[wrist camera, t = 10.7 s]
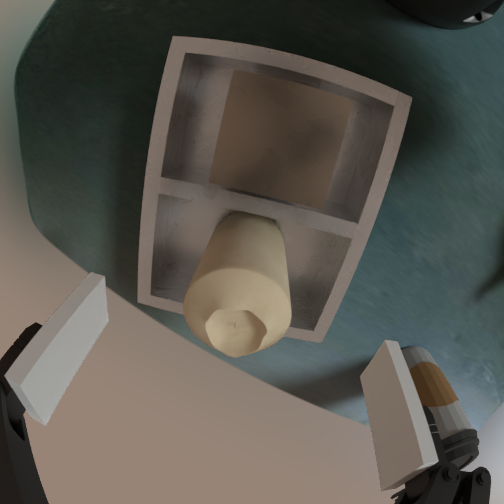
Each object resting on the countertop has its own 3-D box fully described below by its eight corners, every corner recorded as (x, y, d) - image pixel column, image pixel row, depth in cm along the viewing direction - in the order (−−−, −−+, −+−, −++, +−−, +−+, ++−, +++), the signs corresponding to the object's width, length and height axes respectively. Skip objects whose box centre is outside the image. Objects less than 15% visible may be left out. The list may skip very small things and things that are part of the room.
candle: (201, 220, 21) (156, 297, 12) (274, 201, 21) (278, 272, 12) (224, 282, 24) (201, 378, 15) (291, 268, 23) (302, 364, 14)
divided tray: (197, 40, 16) (177, 21, 12) (385, 88, 17) (415, 83, 13) (157, 279, 25) (137, 312, 21) (310, 313, 26) (316, 351, 21)
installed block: (247, 89, 17) (233, 69, 10) (320, 107, 17) (353, 100, 10) (231, 158, 19) (208, 183, 12) (301, 175, 20) (321, 210, 12)
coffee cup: (363, 389, 31) (387, 497, 17) (384, 339, 27) (428, 465, 14) (420, 382, 30) (454, 477, 17) (445, 334, 27) (500, 437, 13)
